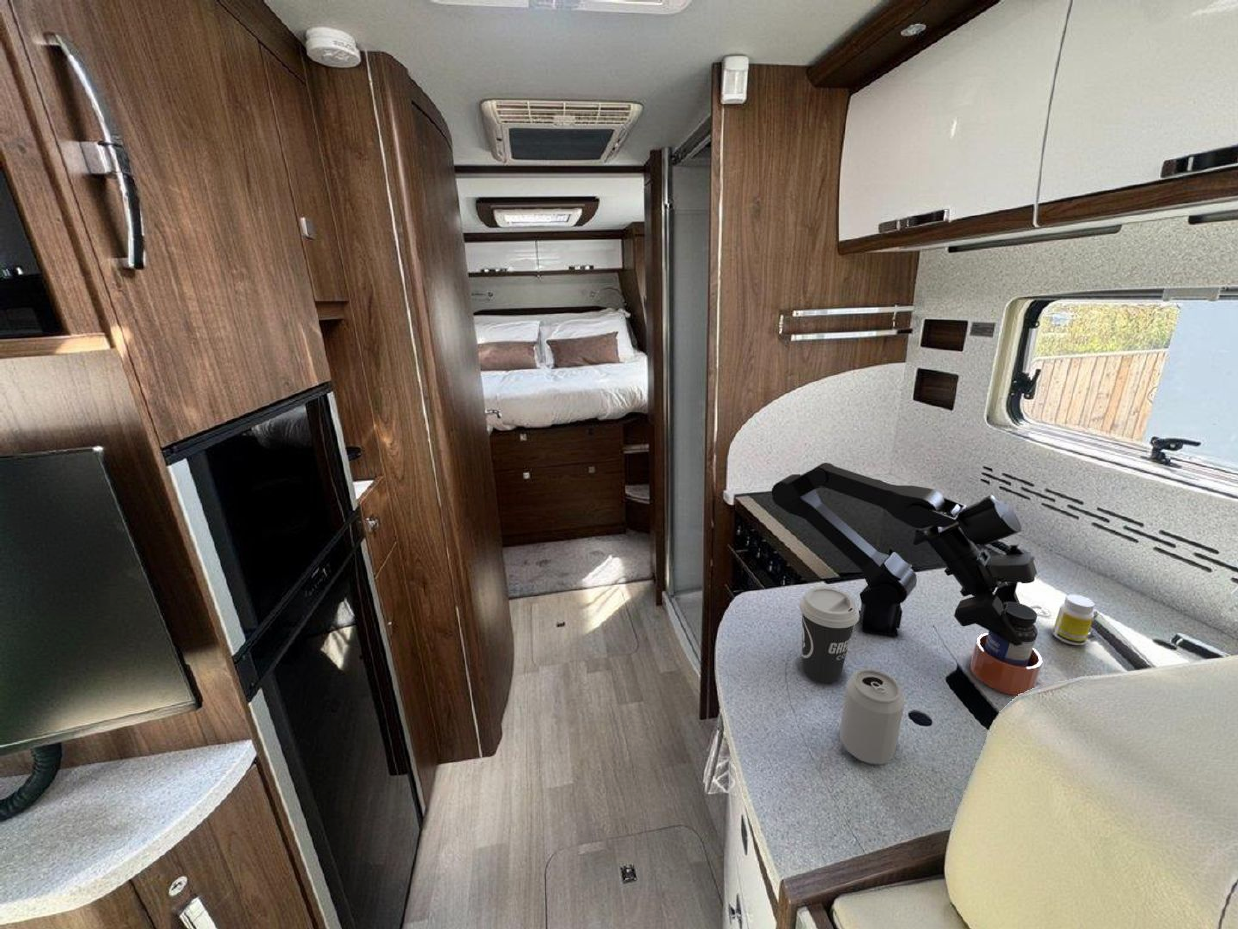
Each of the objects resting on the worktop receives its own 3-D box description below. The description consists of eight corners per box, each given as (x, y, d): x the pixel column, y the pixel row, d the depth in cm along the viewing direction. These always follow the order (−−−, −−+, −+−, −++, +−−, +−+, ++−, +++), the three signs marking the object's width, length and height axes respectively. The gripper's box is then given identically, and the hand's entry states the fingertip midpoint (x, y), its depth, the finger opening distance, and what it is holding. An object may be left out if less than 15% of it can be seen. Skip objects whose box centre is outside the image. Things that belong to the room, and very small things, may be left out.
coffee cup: (814, 696, 84) (823, 622, 79) (782, 658, 93) (789, 589, 88) (862, 683, 87) (874, 610, 82) (826, 647, 95) (835, 580, 90)
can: (877, 724, 79) (888, 663, 75) (904, 767, 72) (918, 702, 67) (830, 727, 78) (838, 665, 74) (853, 770, 71) (863, 705, 67)
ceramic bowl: (981, 689, 84) (988, 663, 82) (962, 653, 92) (968, 629, 91) (1044, 699, 82) (1053, 673, 80) (1020, 662, 90) (1027, 637, 88)
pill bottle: (975, 648, 90) (989, 596, 86) (1014, 653, 89) (1030, 600, 85) (991, 673, 84) (1007, 619, 80) (1033, 678, 83) (1051, 623, 79)
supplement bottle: (1091, 647, 93) (1104, 609, 90) (1061, 644, 94) (1073, 607, 91) (1074, 630, 97) (1086, 594, 94) (1046, 628, 98) (1057, 592, 95)
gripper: (995, 558, 75) (1070, 653, 71) (1018, 517, 87) (1083, 596, 84) (927, 583, 83) (991, 669, 79) (956, 542, 95) (1013, 615, 92)
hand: (1022, 635), depth 83 cm, fingers closed on pill bottle, 6 cm apart
